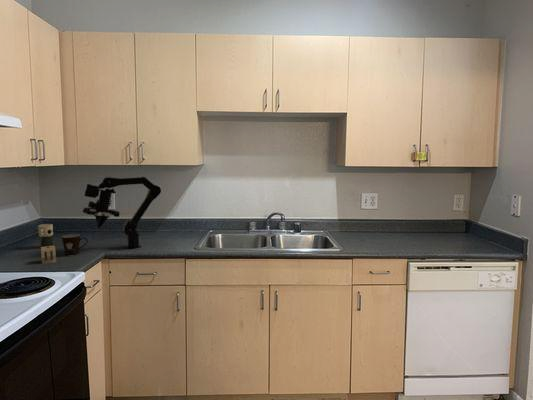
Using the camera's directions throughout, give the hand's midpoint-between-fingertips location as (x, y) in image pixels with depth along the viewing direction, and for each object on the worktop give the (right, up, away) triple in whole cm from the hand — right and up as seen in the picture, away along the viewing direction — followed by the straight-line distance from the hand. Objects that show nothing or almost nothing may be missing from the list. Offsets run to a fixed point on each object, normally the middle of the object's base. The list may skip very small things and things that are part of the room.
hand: (98, 227), depth 208 cm
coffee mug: (-10, -14, -6) cm, 18 cm away
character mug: (-34, -12, +10) cm, 37 cm away
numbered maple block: (-16, -15, -19) cm, 29 cm away
